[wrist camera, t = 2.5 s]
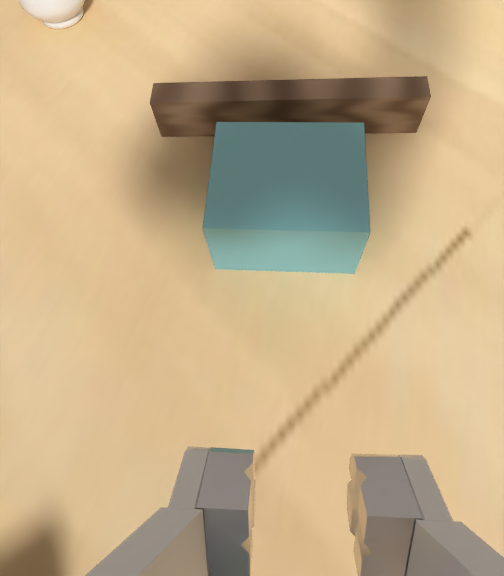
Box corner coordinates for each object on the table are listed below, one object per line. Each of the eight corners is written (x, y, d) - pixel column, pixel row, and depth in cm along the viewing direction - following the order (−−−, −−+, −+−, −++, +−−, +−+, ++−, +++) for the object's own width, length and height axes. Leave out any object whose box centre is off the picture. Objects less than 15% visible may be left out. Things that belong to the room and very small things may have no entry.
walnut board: (413, 113, 49) (426, 76, 44) (416, 132, 48) (430, 96, 43) (164, 117, 51) (153, 83, 46) (161, 136, 50) (149, 102, 45)
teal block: (350, 177, 46) (364, 122, 39) (354, 274, 41) (370, 232, 34) (226, 175, 47) (216, 122, 40) (215, 270, 42) (202, 228, 35)
